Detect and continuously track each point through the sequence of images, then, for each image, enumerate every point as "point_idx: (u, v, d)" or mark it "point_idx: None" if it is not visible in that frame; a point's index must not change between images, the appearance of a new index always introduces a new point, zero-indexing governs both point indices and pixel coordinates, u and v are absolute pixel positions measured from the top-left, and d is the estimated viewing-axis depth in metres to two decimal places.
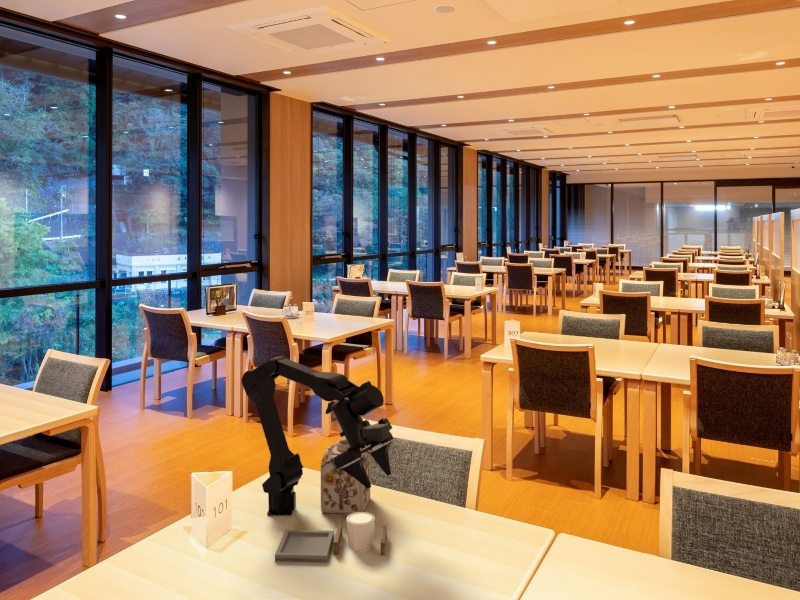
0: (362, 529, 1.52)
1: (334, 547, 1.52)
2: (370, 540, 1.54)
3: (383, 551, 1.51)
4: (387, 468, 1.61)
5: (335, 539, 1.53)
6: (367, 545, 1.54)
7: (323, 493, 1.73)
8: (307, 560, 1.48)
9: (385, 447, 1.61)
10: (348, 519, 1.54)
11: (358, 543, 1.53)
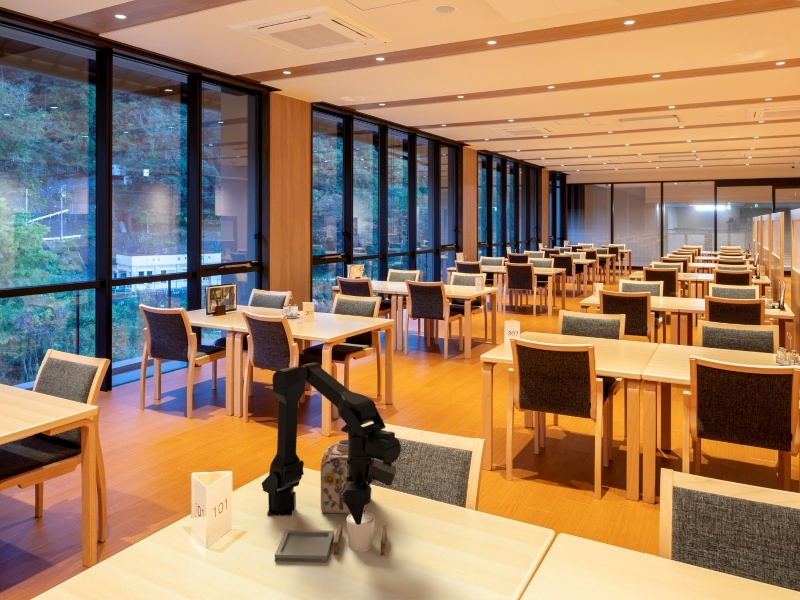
0: (362, 529, 1.52)
1: (334, 547, 1.52)
2: (370, 540, 1.54)
3: (383, 551, 1.51)
4: None
5: (335, 539, 1.53)
6: (367, 545, 1.54)
7: (323, 493, 1.73)
8: (307, 560, 1.48)
9: None
10: (348, 519, 1.54)
11: (358, 543, 1.53)
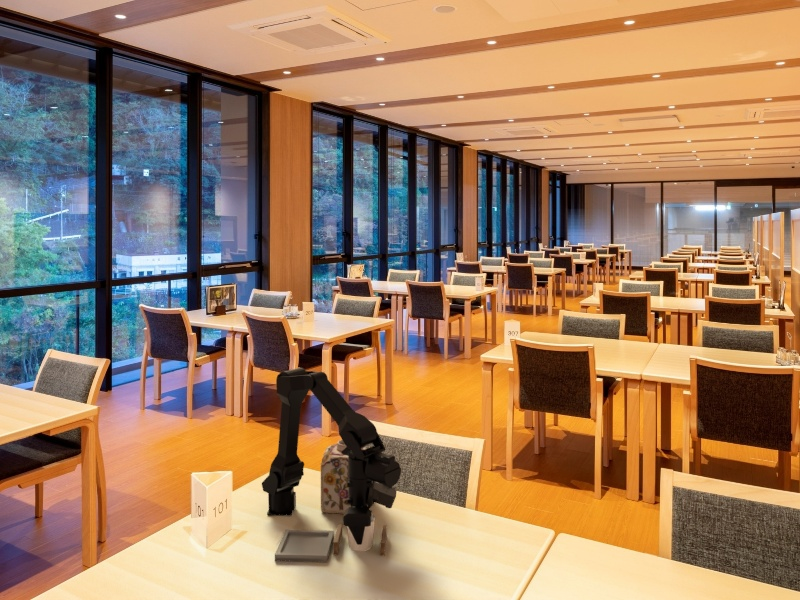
0: None
1: (334, 547, 1.52)
2: (370, 540, 1.54)
3: (383, 551, 1.51)
4: None
5: (335, 539, 1.53)
6: (367, 545, 1.54)
7: (323, 493, 1.73)
8: (307, 560, 1.48)
9: (371, 505, 1.59)
10: None
11: None
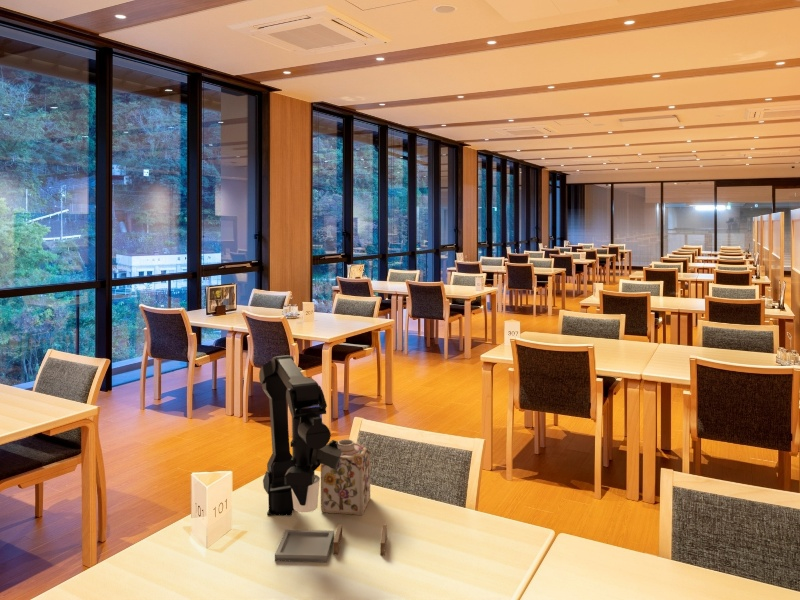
0: None
1: (334, 547, 1.52)
2: (314, 501, 1.51)
3: (383, 551, 1.51)
4: None
5: (335, 539, 1.53)
6: (311, 506, 1.51)
7: (323, 493, 1.73)
8: (307, 560, 1.48)
9: (317, 466, 1.56)
10: None
11: None
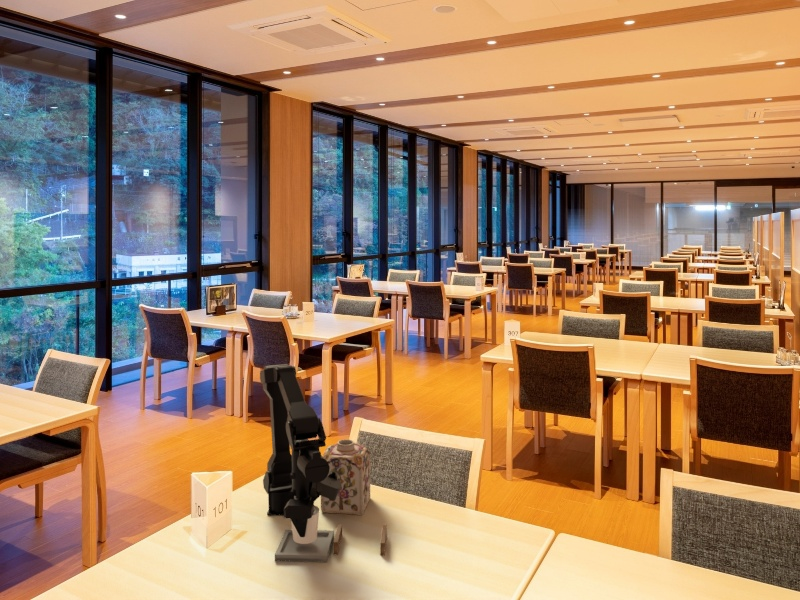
0: None
1: (334, 547, 1.52)
2: (314, 532, 1.52)
3: (383, 551, 1.51)
4: None
5: (335, 539, 1.53)
6: (311, 538, 1.52)
7: None
8: (307, 560, 1.48)
9: (316, 497, 1.57)
10: None
11: None
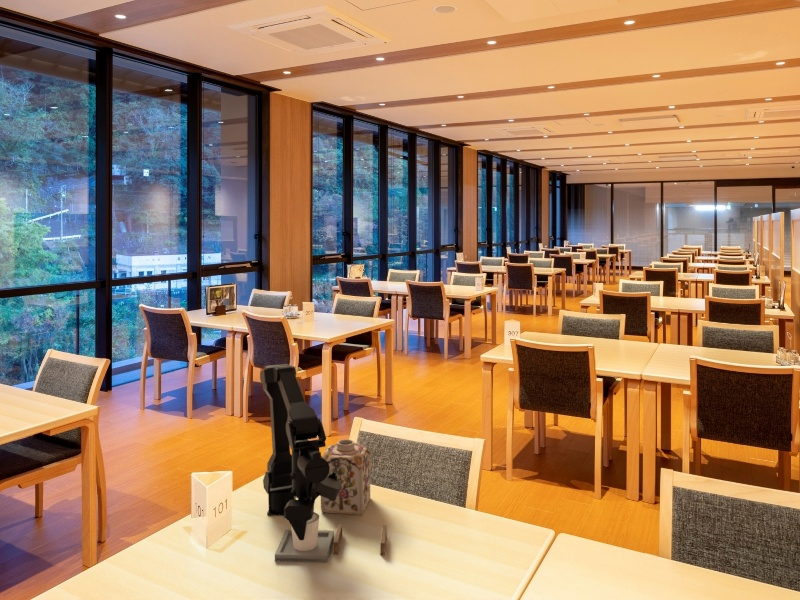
0: None
1: (334, 547, 1.52)
2: (314, 540, 1.52)
3: (383, 551, 1.51)
4: None
5: (335, 539, 1.53)
6: (311, 545, 1.52)
7: None
8: (307, 560, 1.48)
9: (317, 495, 1.58)
10: None
11: (301, 542, 1.51)
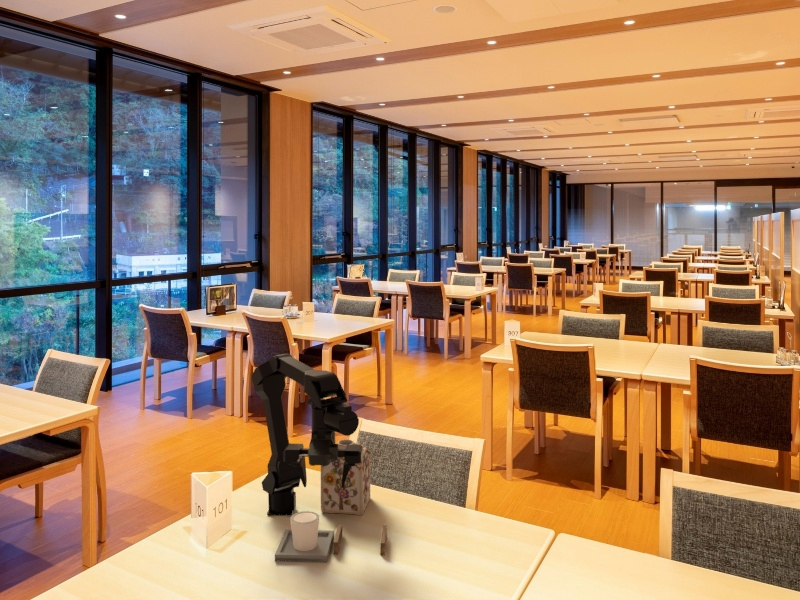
0: (305, 528, 1.51)
1: (334, 547, 1.52)
2: (314, 540, 1.52)
3: (383, 551, 1.51)
4: None
5: (335, 539, 1.53)
6: (311, 545, 1.52)
7: (323, 493, 1.73)
8: (307, 560, 1.48)
9: (343, 465, 1.55)
10: (292, 518, 1.53)
11: (301, 542, 1.51)
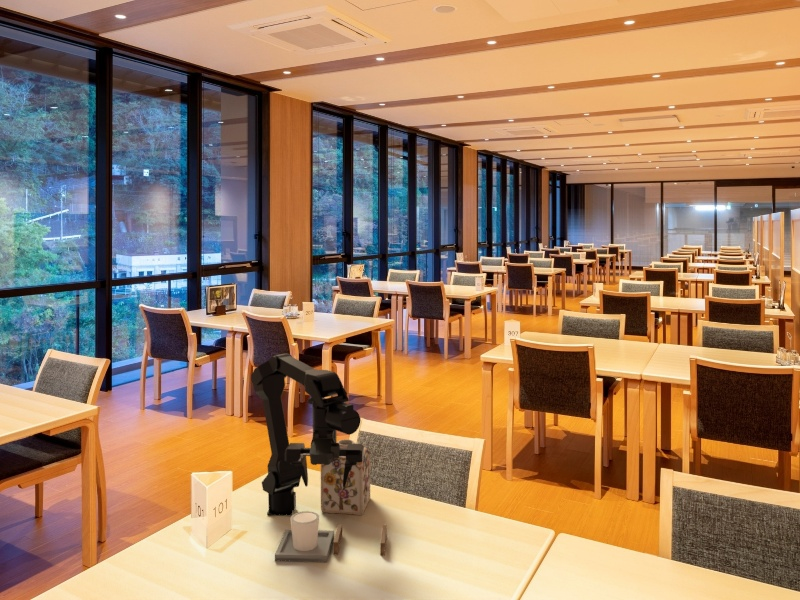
0: (305, 528, 1.51)
1: (334, 547, 1.52)
2: (314, 540, 1.52)
3: (383, 551, 1.51)
4: (343, 480, 1.58)
5: (335, 539, 1.53)
6: (311, 545, 1.52)
7: (323, 493, 1.73)
8: (307, 560, 1.48)
9: None
10: (292, 518, 1.53)
11: (301, 542, 1.51)
